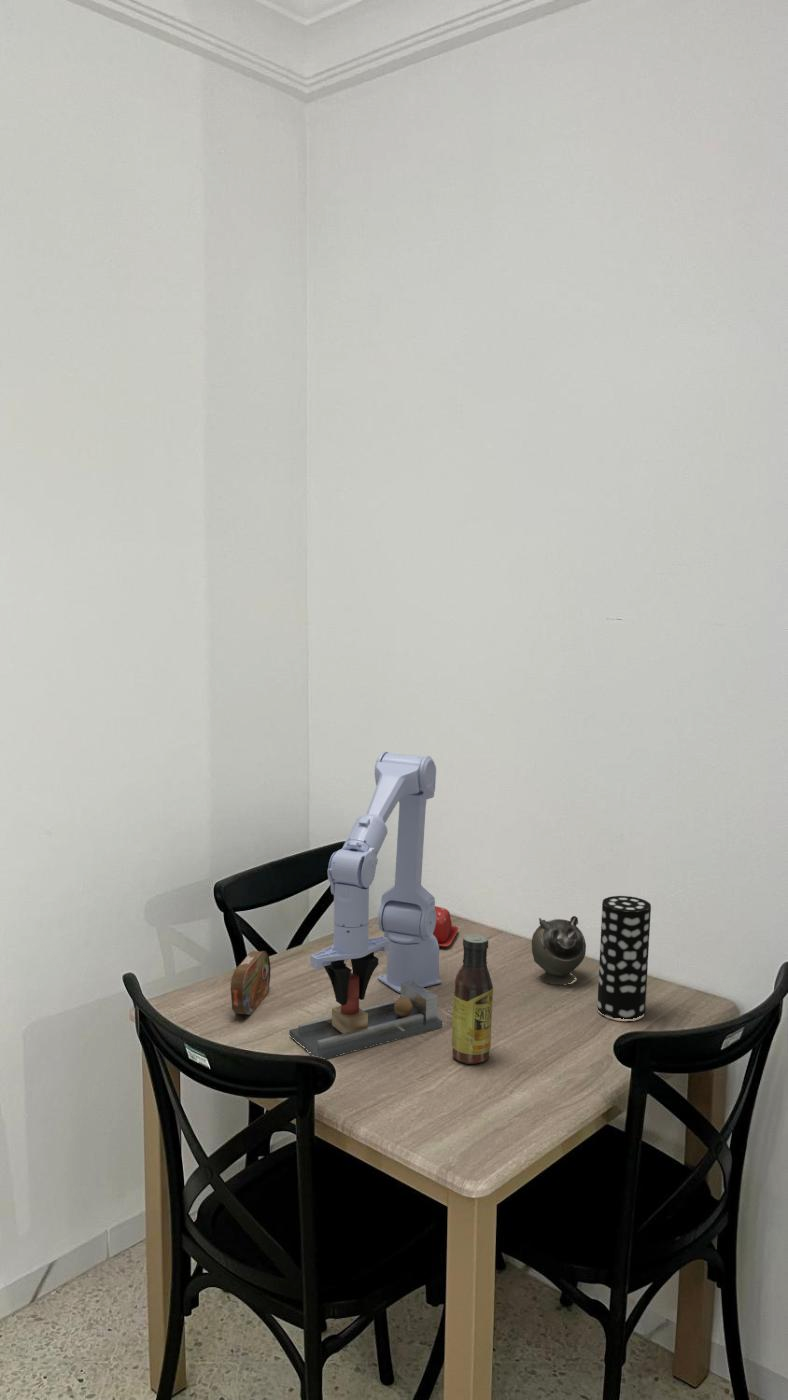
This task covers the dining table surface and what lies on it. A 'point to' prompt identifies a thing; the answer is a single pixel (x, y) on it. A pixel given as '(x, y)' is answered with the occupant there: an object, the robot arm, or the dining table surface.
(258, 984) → the tin
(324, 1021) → the base
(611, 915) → the white-spotted black cylinder
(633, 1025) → the dining table surface
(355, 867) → the robot arm
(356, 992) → the press slider
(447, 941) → the butter dish
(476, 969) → the sauce bottle
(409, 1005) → the nut
